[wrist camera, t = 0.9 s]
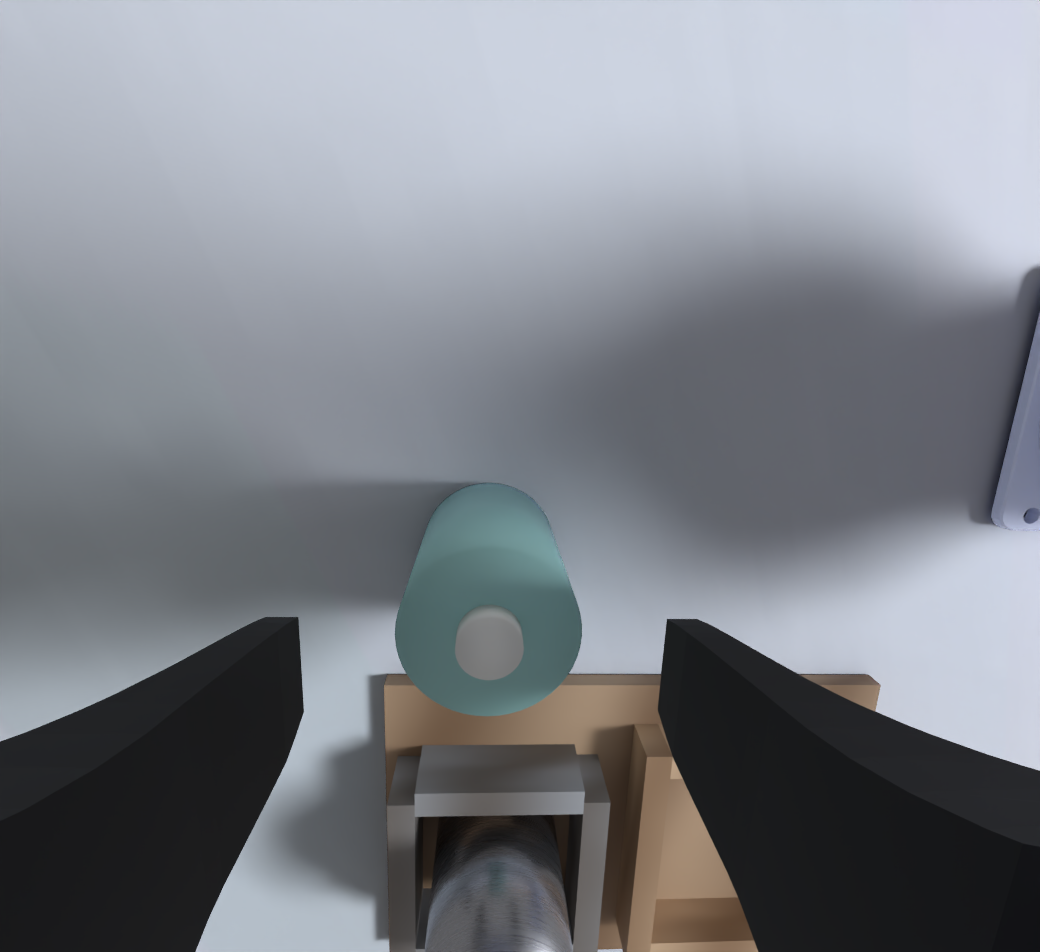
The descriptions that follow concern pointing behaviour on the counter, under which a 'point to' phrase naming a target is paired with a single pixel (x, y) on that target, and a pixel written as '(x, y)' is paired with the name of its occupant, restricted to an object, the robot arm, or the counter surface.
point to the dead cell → (497, 886)
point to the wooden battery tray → (569, 809)
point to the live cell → (488, 605)
